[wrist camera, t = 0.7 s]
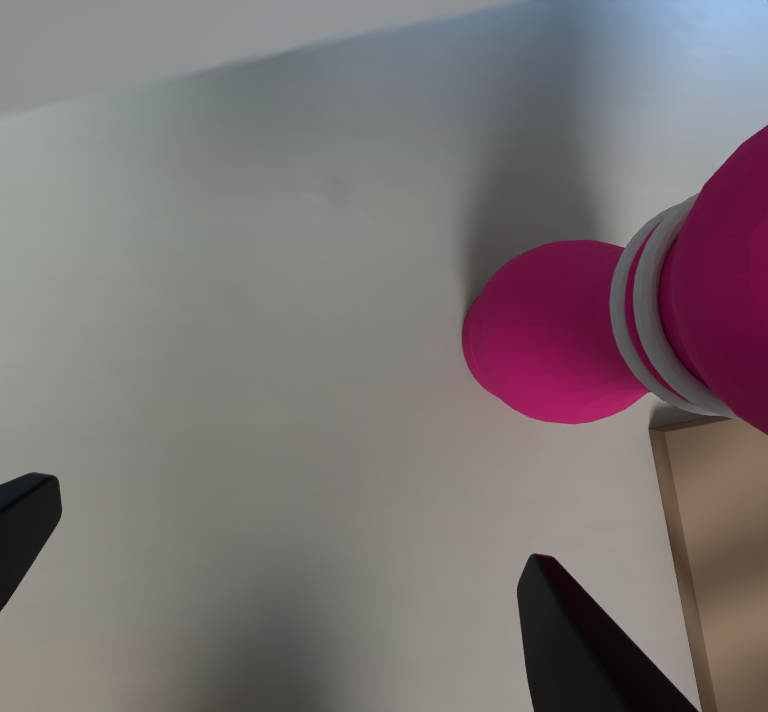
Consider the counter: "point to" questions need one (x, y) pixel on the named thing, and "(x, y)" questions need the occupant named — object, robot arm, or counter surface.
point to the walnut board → (720, 553)
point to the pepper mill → (639, 312)
